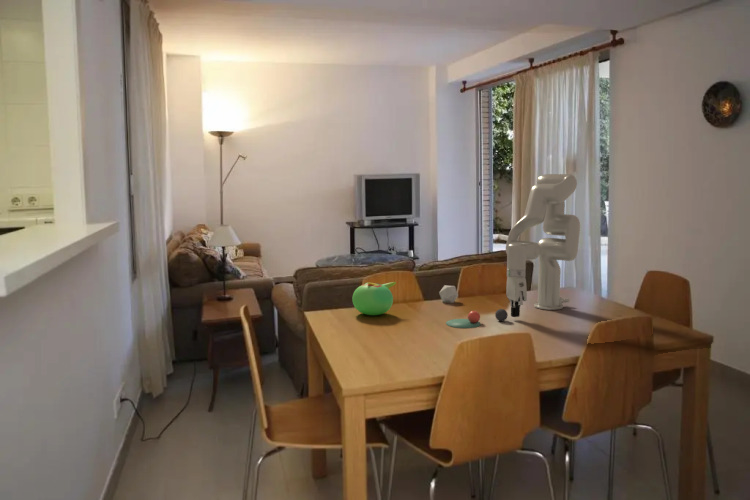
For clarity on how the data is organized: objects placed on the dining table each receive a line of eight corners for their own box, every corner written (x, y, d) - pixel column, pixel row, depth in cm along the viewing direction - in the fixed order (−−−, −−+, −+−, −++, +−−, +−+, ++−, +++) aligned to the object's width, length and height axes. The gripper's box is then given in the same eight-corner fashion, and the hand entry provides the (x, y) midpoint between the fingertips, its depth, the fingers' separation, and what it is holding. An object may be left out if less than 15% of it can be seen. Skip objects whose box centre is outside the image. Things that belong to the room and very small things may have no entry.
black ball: (492, 309, 237) (494, 321, 238) (497, 312, 232) (499, 324, 233) (502, 306, 238) (505, 317, 239) (508, 308, 233) (510, 320, 234)
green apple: (346, 316, 246) (345, 283, 244) (364, 308, 261) (364, 276, 259) (383, 321, 238) (382, 286, 236) (400, 312, 253) (400, 279, 251)
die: (460, 302, 273) (452, 284, 277) (461, 297, 266) (452, 279, 269) (444, 308, 273) (436, 291, 277) (445, 303, 265) (436, 285, 269)
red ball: (467, 308, 234) (464, 320, 235) (471, 311, 230) (469, 323, 230) (478, 310, 236) (475, 322, 236) (483, 313, 231) (480, 325, 231)
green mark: (472, 318, 240) (472, 317, 240) (486, 326, 227) (486, 326, 227) (441, 320, 237) (441, 320, 237) (453, 329, 224) (453, 328, 224)
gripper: (533, 275, 228) (532, 320, 231) (516, 269, 243) (515, 311, 245) (516, 276, 226) (515, 321, 229) (499, 270, 241) (499, 312, 243)
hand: (515, 316), depth 237 cm, fingers closed
